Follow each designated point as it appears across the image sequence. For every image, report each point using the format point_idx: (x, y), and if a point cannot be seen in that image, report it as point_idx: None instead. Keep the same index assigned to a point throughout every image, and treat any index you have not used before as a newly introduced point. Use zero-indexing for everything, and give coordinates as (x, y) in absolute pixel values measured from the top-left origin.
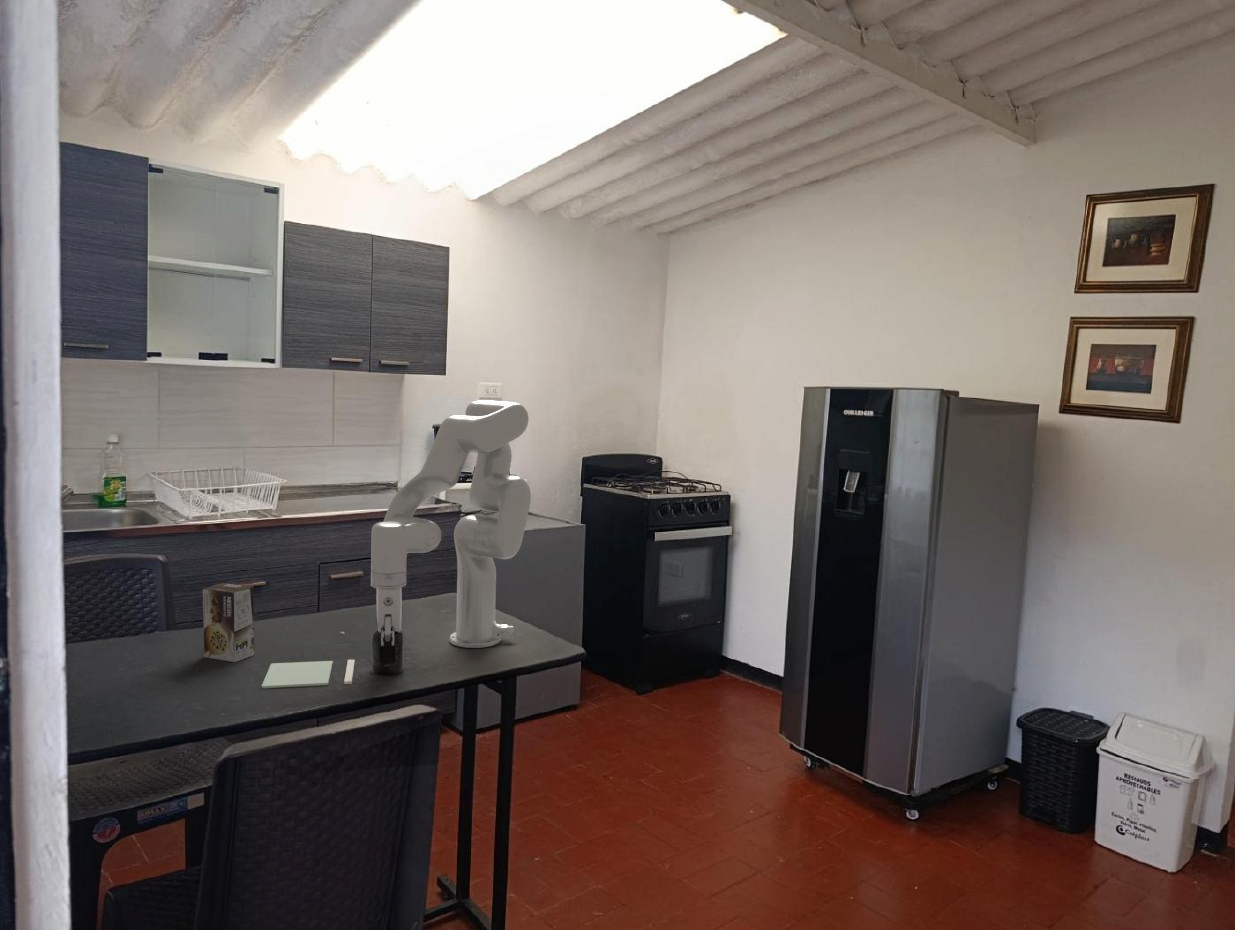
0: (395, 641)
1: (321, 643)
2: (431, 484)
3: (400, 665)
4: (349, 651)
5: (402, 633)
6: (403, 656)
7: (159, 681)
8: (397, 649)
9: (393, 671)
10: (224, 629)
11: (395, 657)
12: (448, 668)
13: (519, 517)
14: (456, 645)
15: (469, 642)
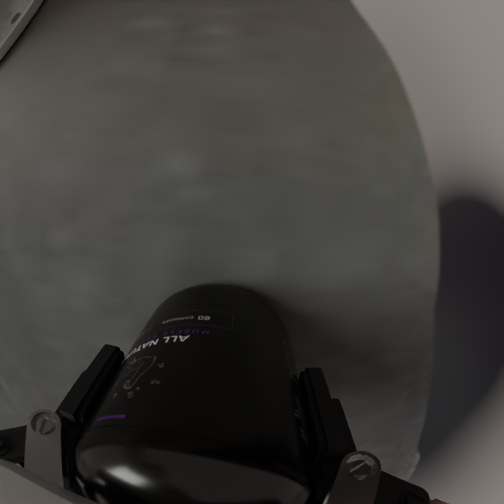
0: (308, 465)
1: (16, 416)
2: None
3: (268, 317)
4: (37, 394)
5: (214, 473)
6: (215, 317)
7: None
8: (295, 405)
9: (289, 338)
10: None
11: (295, 377)
12: (244, 50)
13: None
14: (5, 53)
15: (20, 6)
